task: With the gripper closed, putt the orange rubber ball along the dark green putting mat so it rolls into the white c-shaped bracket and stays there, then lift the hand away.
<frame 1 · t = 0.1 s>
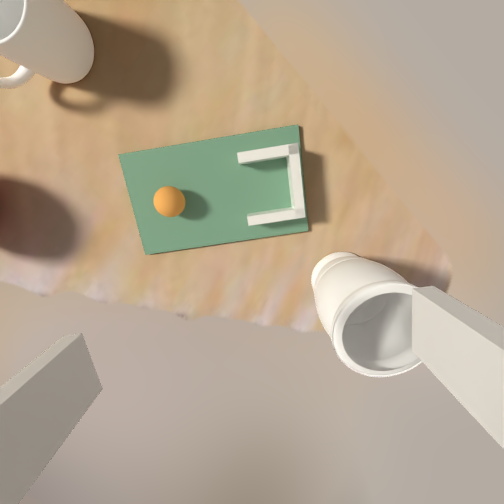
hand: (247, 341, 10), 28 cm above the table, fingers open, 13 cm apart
white c-shaped bracket: (270, 185, 35), resting on putting mat
jar: (338, 276, 39), on the table
ball: (169, 201, 34), point 3 cm above the table, touching putting mat
putting mat: (217, 193, 36), on the table
cup: (55, 60, 32), on the table
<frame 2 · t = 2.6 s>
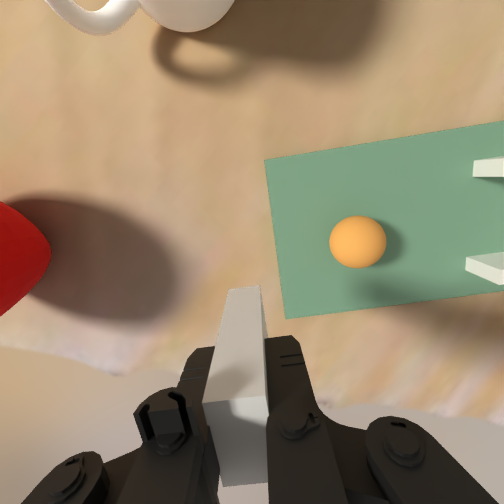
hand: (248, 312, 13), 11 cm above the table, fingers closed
tomato: (11, 238, 23), on the table
ball: (356, 242, 20), point 3 cm above the table, touching putting mat
putting mat: (417, 224, 22), on the table
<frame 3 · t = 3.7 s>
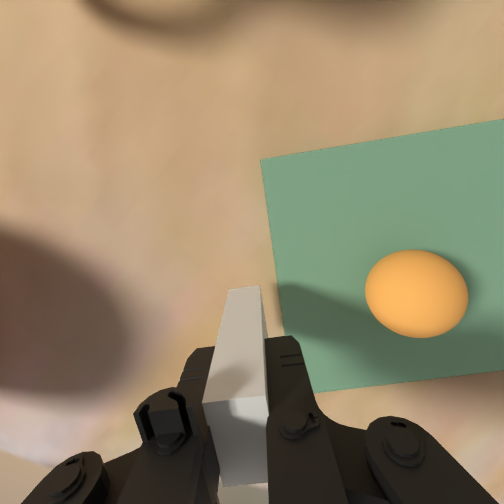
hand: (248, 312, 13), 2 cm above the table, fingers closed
ball: (412, 292, 12), point 3 cm above the table, touching putting mat
putting mat: (495, 257, 14), on the table
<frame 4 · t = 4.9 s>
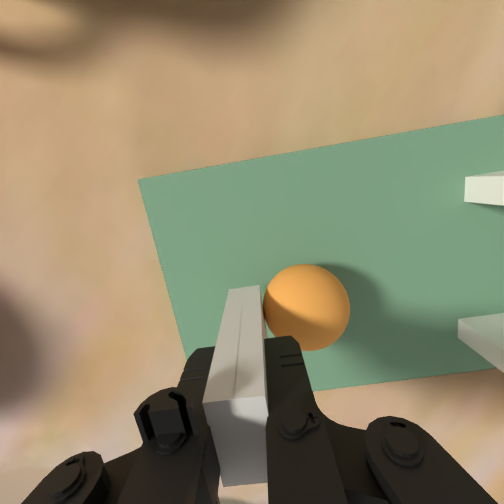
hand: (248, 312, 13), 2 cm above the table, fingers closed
ball: (305, 305, 12), point 3 cm above the table, tilted 31°, touching gripper, putting mat
putting mat: (383, 271, 14), on the table
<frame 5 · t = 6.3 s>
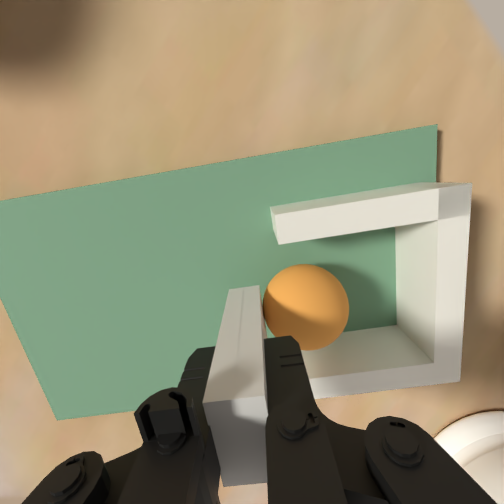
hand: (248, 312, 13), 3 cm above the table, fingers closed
white c-shaped bracket: (349, 278, 14), resting on putting mat
jar: (478, 451, 18), on the table
ball: (304, 305, 12), point 3 cm above the table, tilted 93°, touching gripper, putting mat
putting mat: (215, 293, 15), on the table
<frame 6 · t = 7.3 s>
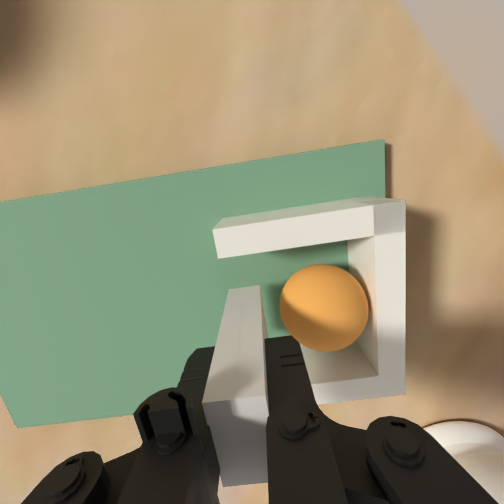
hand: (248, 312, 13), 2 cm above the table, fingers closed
white c-shaped bracket: (303, 289, 14), resting on putting mat
jar: (441, 460, 18), on the table
ball: (322, 306, 12), point 3 cm above the table, touching putting mat
putting mat: (173, 302, 15), on the table
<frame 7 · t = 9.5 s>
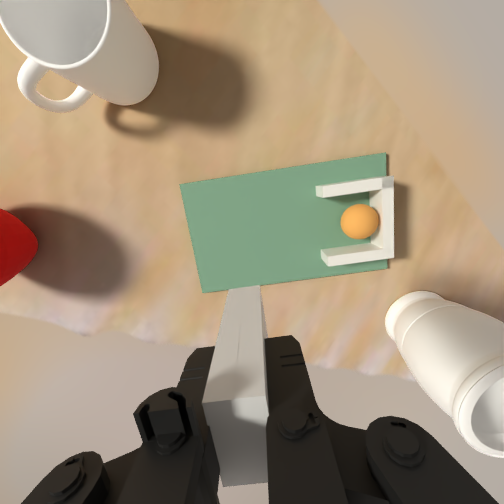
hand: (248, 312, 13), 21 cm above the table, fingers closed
tomato: (10, 235, 33), on the table
white c-shaped bracket: (349, 219, 31), resting on putting mat
jar: (414, 317, 35), on the table
ball: (359, 221, 29), point 3 cm above the table, tilted 5°, touching putting mat
putting mat: (286, 227, 32), on the table
cup: (113, 79, 28), on the table
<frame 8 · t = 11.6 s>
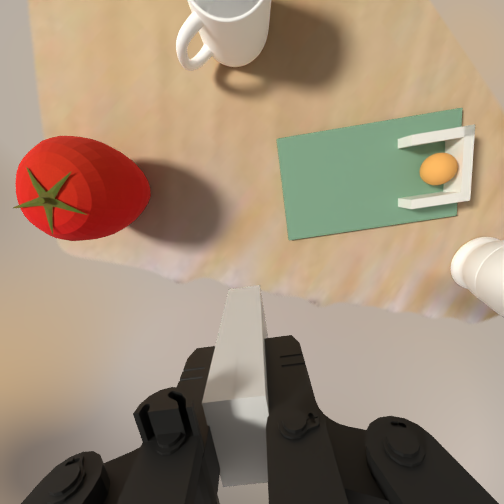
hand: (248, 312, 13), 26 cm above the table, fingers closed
tomato: (120, 188, 37), on the table
white c-shaped bracket: (425, 169, 35), resting on putting mat
jar: (476, 262, 39), on the table
ball: (438, 169, 33), point 3 cm above the table, tilted 7°, touching putting mat
putting mat: (368, 178, 36), on the table
cup: (224, 44, 32), on the table
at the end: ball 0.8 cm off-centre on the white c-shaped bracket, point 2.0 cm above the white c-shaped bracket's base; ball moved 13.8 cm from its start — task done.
